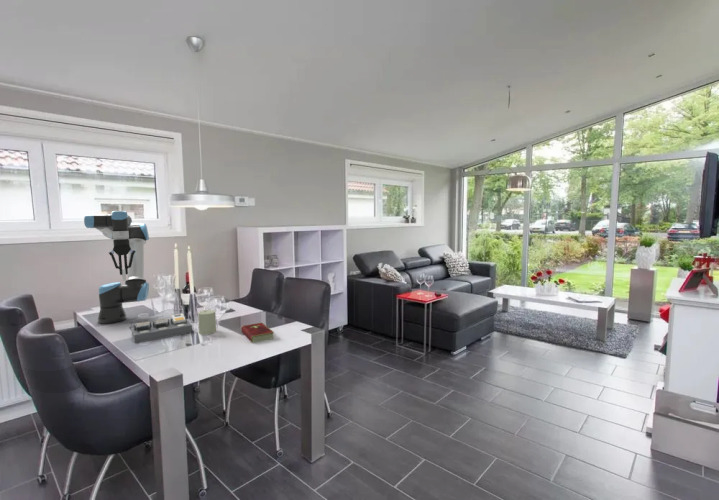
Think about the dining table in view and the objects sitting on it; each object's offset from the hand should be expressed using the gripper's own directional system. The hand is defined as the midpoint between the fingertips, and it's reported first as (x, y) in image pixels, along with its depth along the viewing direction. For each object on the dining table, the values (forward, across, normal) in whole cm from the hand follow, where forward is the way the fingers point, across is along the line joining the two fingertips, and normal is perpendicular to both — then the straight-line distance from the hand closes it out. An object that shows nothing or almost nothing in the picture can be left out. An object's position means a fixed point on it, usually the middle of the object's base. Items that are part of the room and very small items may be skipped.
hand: (124, 280), depth 209 cm
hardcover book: (+30, +56, -53) cm, 83 cm away
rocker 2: (+23, +24, -14) cm, 36 cm away
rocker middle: (+23, +15, -14) cm, 31 cm away
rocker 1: (+23, +6, -14) cm, 28 cm away
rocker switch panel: (+29, +15, -17) cm, 37 cm away
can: (+30, +36, -30) cm, 55 cm away
